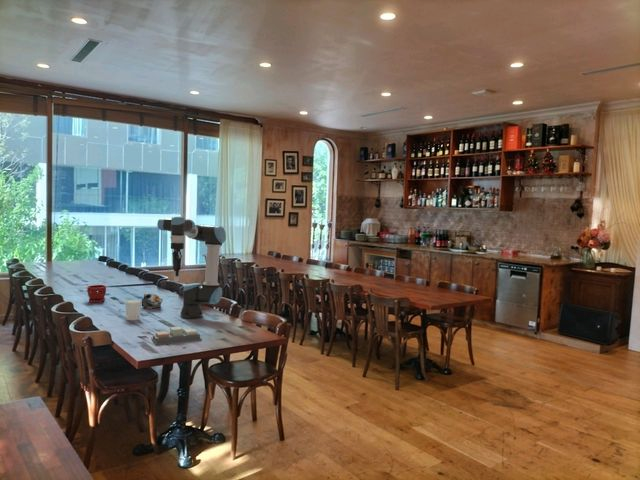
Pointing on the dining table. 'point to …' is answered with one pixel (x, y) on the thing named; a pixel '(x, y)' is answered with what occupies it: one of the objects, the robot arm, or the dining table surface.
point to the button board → (175, 339)
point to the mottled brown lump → (151, 301)
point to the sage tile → (176, 331)
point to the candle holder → (133, 309)
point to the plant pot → (96, 293)
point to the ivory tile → (190, 332)
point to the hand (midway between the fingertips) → (176, 281)
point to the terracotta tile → (162, 334)
